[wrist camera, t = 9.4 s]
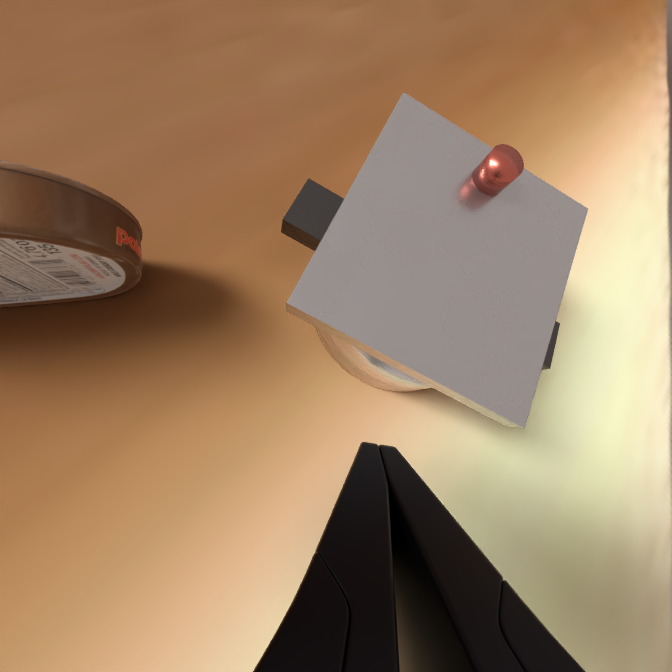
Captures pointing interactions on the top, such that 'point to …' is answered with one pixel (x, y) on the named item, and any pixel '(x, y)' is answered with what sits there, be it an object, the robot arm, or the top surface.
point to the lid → (446, 263)
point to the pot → (309, 228)
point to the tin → (62, 240)
